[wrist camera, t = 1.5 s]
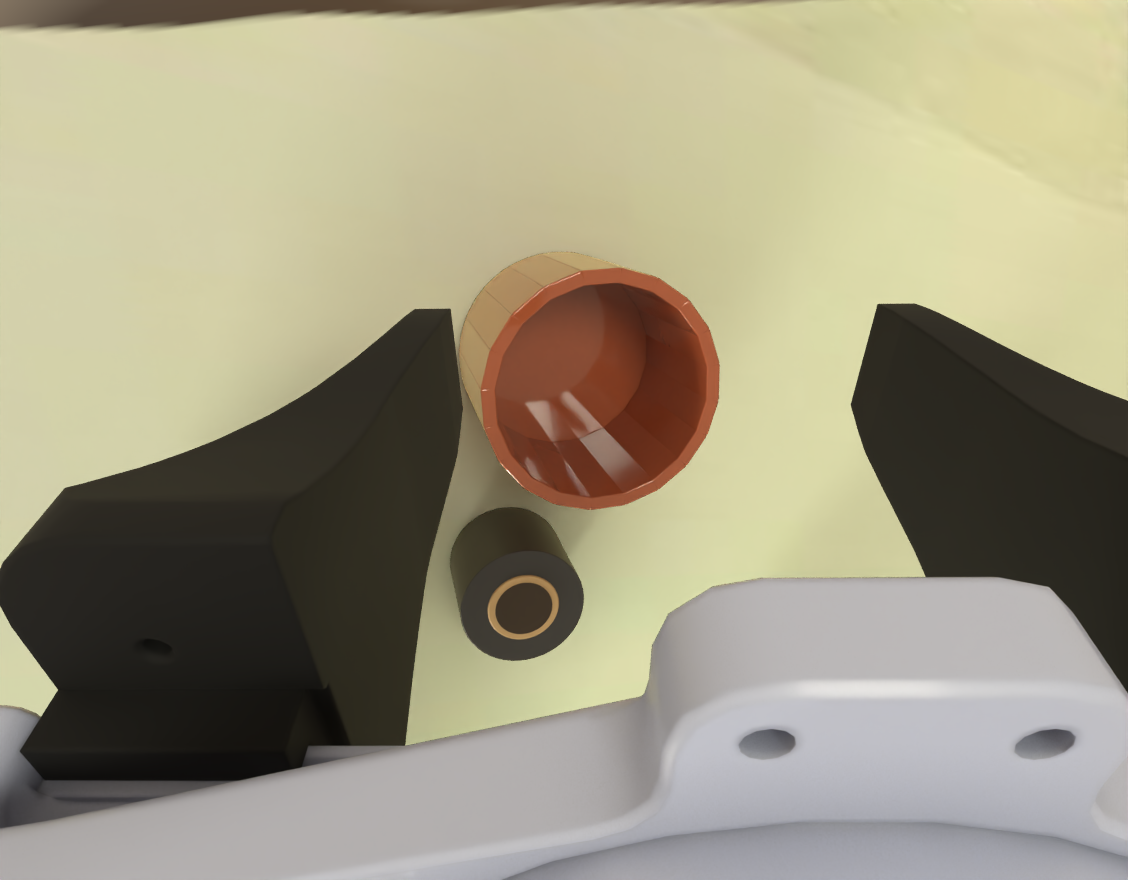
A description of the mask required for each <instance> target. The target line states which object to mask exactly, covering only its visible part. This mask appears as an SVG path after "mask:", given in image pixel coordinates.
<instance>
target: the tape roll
mask: <svg viewBox="0 0 1128 880" xmlns="http://www.w3.org/2000/svg"><path fill="white" fill-rule="evenodd" d="M450 568H451V573H452V578H453V583H454V588H455V593H456V598H457V603H458V607H459V612H460V617H461V622H462V626H463V629H464V631H465V633H466V635H467V637H468V638H469V640H470V641H471V642H472V643H473V644H474V645H475V646H476V647H477V648H478V649H479V650H481V651H482V652H484V653H486V654H488V655H489V656H492V657H495V658H498V659H503V660H511V661H518V660H527V659H531V658H535V657H538V656H541V655H543V654H545V653H547V652H549V651H551V650H553V649H554V648H556V647H557V646H558V645H560V644H561V643H562V642H563V641H564V640H565V639H566V638H567V637H568V636H569V635H570V634H571V632H572V631H573V630H574V628H575V626H576V625H577V623H578V621H579V619H580V616H581V613H582V609H583V602H584V595H583V588H582V584H581V581H580V579H579V577H578V575H577V573H576V571H575V569H574V567H573V565H572V563H571V562H570V560H569V558H568V556H567V554H566V552H565V550H564V548H563V546H562V545H561V543H560V541H559V539H558V537H557V535H556V533H555V531H554V530H553V528H552V527H551V526H550V524H549V523H548V522H547V521H546V520H545V519H543V518H542V517H541V516H539V515H537V514H536V513H533V512H531V511H528V510H525V509H520V508H500V509H496V510H492V511H489V512H487V513H484V514H482V515H480V516H479V517H477V518H475V519H474V520H473V521H471V522H470V523H469V524H468V525H467V526H466V527H465V528H464V529H463V530H462V532H461V533H460V534H459V536H458V537H457V539H456V541H455V543H454V546H453V548H452V552H451V558H450Z"/></svg>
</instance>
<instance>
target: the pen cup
mask: <svg viewBox="0 0 1128 880" xmlns="http://www.w3.org/2000/svg"><path fill="white" fill-rule="evenodd" d="M459 363H460V370H461V376H462V381H463V385H464V387H465V389H466V391H467V394H468V396H469V398H470V400H471V403H472V405H473V407H474V409H475V412H476V414H477V416H478V418H479V420H480V422H481V425H482V427H483V429H484V431H485V433H486V436H487V438H488V440H489V442H490V444H491V446H492V449H493V451H494V453H495V455H496V457H497V459H498V461H499V463H500V464H501V465H502V466H503V467H504V468H505V469H506V470H507V471H508V472H509V473H510V475H511V476H512V477H513V478H514V479H515V480H516V481H517V482H518V483H519V484H520V485H521V486H522V487H524V489H526V490H528V491H530V492H532V493H534V494H536V495H538V496H539V497H541V498H543V499H545V500H547V501H549V502H551V503H553V504H556V505H562V506H568V507H574V508H581V509H587V510H590V509H591V510H594V509H600V508H607V507H614V506H621V505H625V504H628V503H631V502H633V501H635V500H637V499H639V498H641V497H644V496H646V495H648V494H650V493H652V492H655V491H657V490H658V489H660V488H661V487H662V486H663V485H665V484H666V483H667V482H668V481H669V480H670V479H672V478H673V477H674V476H675V475H676V474H678V473H679V472H680V471H681V470H682V469H683V468H685V467H686V465H687V464H688V463H689V461H690V460H691V458H692V457H693V455H694V454H695V453H696V451H697V450H698V448H699V447H700V445H701V444H702V442H703V441H704V439H705V438H706V436H707V434H708V431H709V428H710V425H711V422H712V419H713V416H714V413H715V410H716V407H717V404H718V399H719V367H720V365H719V360H718V356H717V353H716V350H715V346H714V343H713V339H712V336H711V332H710V330H709V327H708V326H707V324H706V323H705V322H704V320H703V319H702V317H701V316H700V314H699V313H698V312H697V310H696V309H695V307H694V306H693V305H692V303H691V302H690V300H688V299H687V297H685V296H684V295H682V294H681V293H680V292H678V291H677V290H675V289H674V288H672V287H671V286H670V285H668V284H667V283H665V282H664V281H662V280H661V279H660V278H657V277H655V276H652V275H649V274H646V273H642V272H639V271H636V270H633V269H630V268H627V267H623V266H620V265H617V264H614V263H611V262H608V261H604V260H601V259H597V258H594V257H590V256H586V255H583V254H579V253H575V252H574V253H573V252H550V253H542V254H538V255H534V256H531V257H527V258H525V259H523V260H520V261H518V262H516V263H514V264H512V265H511V266H509V267H507V268H506V269H504V270H503V271H501V272H500V273H499V274H498V275H496V276H495V277H494V278H493V279H492V280H491V281H490V282H489V283H488V284H487V285H486V286H485V287H484V288H483V289H482V291H481V292H480V294H479V295H478V296H477V298H476V299H475V301H474V303H473V304H472V306H471V308H470V310H469V312H468V314H467V317H466V320H465V322H464V325H463V329H462V333H461V338H460V347H459Z"/></svg>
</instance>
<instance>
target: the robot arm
mask: <svg viewBox="0 0 1128 880" xmlns="http://www.w3.org/2000/svg"><path fill="white" fill-rule="evenodd" d="M851 407H852V411H853V414H854V418H855V421H856V425H857V429H858V432H859V435H860V438H861V441H862V444H863V447H864V450H865V453H866V455H867V457H868V459H869V461H870V463H871V465H872V467H873V469H874V471H875V473H876V475H877V477H878V480H879V482H880V484H881V486H882V488H883V490H884V492H885V494H886V496H887V498H888V499H889V501H890V503H891V505H892V507H893V509H894V511H895V513H896V515H897V517H898V519H899V521H900V523H901V525H902V527H903V529H904V531H905V533H906V535H907V537H908V539H909V541H910V543H911V545H912V547H913V549H914V551H915V553H916V555H917V558H918V560H919V562H920V564H921V567H922V569H923V571H924V574H925V576H926V577H842V578H757V579H752V580H746V581H741V582H735V583H729V584H724V585H718V586H713V587H711V588H709V589H708V590H706V591H704V592H703V593H701V594H699V595H698V596H696V597H695V598H693V599H691V600H690V601H688V602H686V603H685V604H683V605H681V606H680V607H678V608H676V609H675V610H673V611H672V612H670V613H669V614H668V616H667V618H666V619H665V621H664V623H663V625H662V627H661V629H660V631H659V633H658V635H657V637H656V639H655V641H654V643H653V645H652V651H651V663H650V674H649V681H648V684H647V687H646V690H645V693H644V694H643V695H642V696H640V697H636V698H631V699H626V700H621V701H616V702H612V703H607V704H602V705H597V706H593V707H588V708H583V709H578V710H573V711H569V712H564V713H559V714H554V715H550V716H545V717H540V718H535V719H531V720H526V721H521V722H516V723H511V724H507V725H502V726H497V727H492V728H488V729H483V730H478V731H473V732H468V733H464V734H459V735H454V736H449V737H445V738H440V739H435V740H430V741H425V742H421V743H416V744H411V745H406V746H405V742H406V732H407V723H408V714H409V705H410V696H411V687H412V678H413V670H414V662H415V654H416V647H417V639H418V631H419V623H420V616H421V609H422V603H423V596H424V589H425V582H426V575H427V570H428V566H429V561H430V556H431V552H432V548H433V544H434V541H435V537H436V533H437V530H438V526H439V522H440V518H441V515H442V511H443V507H444V504H445V500H446V496H447V492H448V489H449V485H450V481H451V477H452V473H453V470H454V466H455V462H456V458H457V453H458V446H459V438H460V429H461V420H462V410H463V406H462V398H461V390H460V382H459V374H458V366H457V358H456V350H455V341H454V333H453V325H452V317H451V309H414V310H413V311H412V312H410V313H409V314H408V315H406V316H405V317H404V318H403V319H401V320H400V321H399V322H398V323H397V324H396V325H394V326H393V327H392V328H391V329H390V330H389V331H387V332H386V333H385V334H384V335H383V336H382V337H380V338H379V339H378V340H377V341H376V342H374V343H373V344H372V345H371V346H370V347H368V348H367V349H366V350H365V351H364V352H362V353H361V354H360V355H359V356H358V357H356V358H355V359H354V360H352V361H351V362H350V363H348V364H347V365H346V366H344V367H343V368H341V369H340V370H339V371H337V372H336V373H335V374H333V375H332V376H331V377H329V378H328V379H326V380H325V381H324V382H322V383H321V384H320V385H318V386H317V387H315V388H314V389H312V390H311V391H309V392H308V393H306V394H304V395H303V396H301V397H300V398H298V399H296V400H295V401H293V402H291V403H289V404H288V405H286V406H284V407H282V408H281V409H279V410H277V411H275V412H274V413H272V414H270V415H268V416H266V417H264V418H262V419H260V420H258V421H256V422H254V423H252V424H249V425H247V426H245V427H243V428H241V429H239V430H237V431H234V432H232V433H230V434H228V435H226V436H224V437H222V438H220V439H217V440H215V441H213V442H210V443H208V444H205V445H202V446H200V447H197V448H195V449H192V450H190V451H187V452H184V453H182V454H179V455H176V456H173V457H170V458H167V459H165V460H162V461H159V462H156V463H153V464H150V465H146V466H143V467H140V468H137V469H133V470H130V471H126V472H123V473H119V474H115V475H112V476H108V477H105V478H101V479H97V480H94V481H90V482H87V483H83V484H79V485H75V486H71V487H67V488H65V489H64V490H63V491H62V492H61V493H60V494H59V496H58V497H57V498H56V499H55V500H54V502H53V503H52V504H51V505H50V506H49V508H48V509H47V510H46V511H45V512H44V514H43V515H42V516H41V517H40V518H39V520H38V521H37V522H36V523H35V525H34V526H33V527H32V528H31V529H30V531H29V532H28V533H27V534H26V535H25V537H24V538H23V539H22V540H21V541H20V543H19V544H18V545H17V546H16V547H15V549H14V550H13V551H12V552H11V553H10V555H9V556H8V557H7V558H6V559H5V561H4V562H3V564H2V566H1V569H0V606H1V608H2V610H3V612H4V614H5V616H6V618H7V619H8V621H9V623H10V625H11V627H12V628H13V629H14V631H15V632H16V633H17V635H18V636H19V638H20V639H21V640H22V642H23V643H24V644H25V646H26V647H27V648H28V650H29V651H30V652H31V654H32V655H33V656H34V658H35V659H36V660H37V662H38V663H39V664H40V666H41V667H42V669H43V670H44V671H45V673H46V674H47V675H48V677H49V678H50V679H51V681H52V682H53V683H54V685H55V686H56V687H57V689H58V691H57V693H56V694H55V696H54V698H53V699H52V701H51V702H50V704H49V705H48V707H47V709H46V710H45V712H44V713H43V715H42V716H41V717H40V716H39V715H38V714H37V713H34V712H32V711H29V710H26V709H24V708H21V707H14V706H7V705H0V880H1128V401H1127V400H1124V399H1121V398H1119V397H1116V396H1113V395H1111V394H1108V393H1105V392H1103V391H1100V390H1098V389H1095V388H1093V387H1090V386H1088V385H1086V384H1083V383H1081V382H1079V381H1076V380H1074V379H1072V378H1070V377H1067V376H1065V375H1063V374H1061V373H1059V372H1056V371H1054V370H1052V369H1050V368H1048V367H1045V366H1043V365H1041V364H1039V363H1037V362H1035V361H1033V360H1031V359H1029V358H1027V357H1025V356H1023V355H1021V354H1019V353H1017V352H1015V351H1013V350H1011V349H1009V348H1007V347H1005V346H1003V345H1001V344H999V343H997V342H995V341H993V340H991V339H989V338H987V337H985V336H983V335H981V334H979V333H978V332H976V331H974V330H972V329H970V328H968V327H966V326H964V325H962V324H960V323H958V322H956V321H954V320H952V319H950V318H948V317H946V316H944V315H942V314H940V313H937V312H935V311H933V310H931V309H928V308H926V307H923V306H920V305H917V304H878V305H877V309H876V312H875V316H874V320H873V324H872V327H871V331H870V335H869V339H868V342H867V346H866V350H865V353H864V357H863V361H862V365H861V368H860V372H859V376H858V380H857V383H856V387H855V391H854V395H853V398H852V402H851Z"/></svg>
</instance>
